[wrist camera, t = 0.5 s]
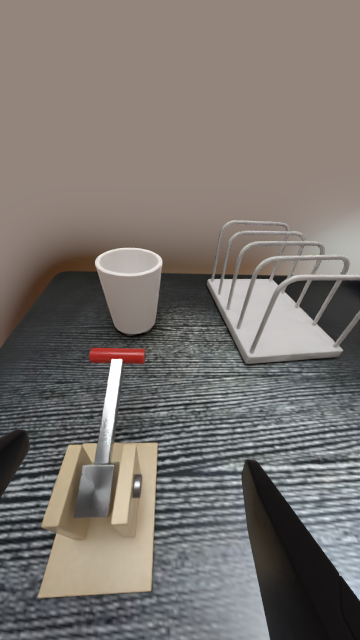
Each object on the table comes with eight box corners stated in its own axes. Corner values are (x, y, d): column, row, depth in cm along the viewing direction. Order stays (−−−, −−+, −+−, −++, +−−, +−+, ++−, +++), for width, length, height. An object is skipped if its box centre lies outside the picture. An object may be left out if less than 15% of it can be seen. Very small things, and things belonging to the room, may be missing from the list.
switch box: (85, 447, 23) (62, 407, 18) (157, 446, 24) (157, 408, 18) (43, 597, 16) (-22, 611, 10) (151, 590, 16) (148, 600, 10)
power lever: (96, 352, 21) (89, 343, 19) (146, 353, 22) (144, 344, 20) (64, 508, 15) (49, 519, 13) (134, 506, 16) (129, 516, 14)
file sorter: (338, 358, 36) (406, 278, 26) (244, 366, 34) (281, 279, 24) (269, 284, 55) (294, 221, 45) (206, 285, 52) (217, 218, 42)
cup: (98, 337, 36) (81, 269, 28) (119, 305, 44) (110, 244, 36) (154, 346, 35) (154, 279, 27) (166, 312, 43) (168, 251, 35)
